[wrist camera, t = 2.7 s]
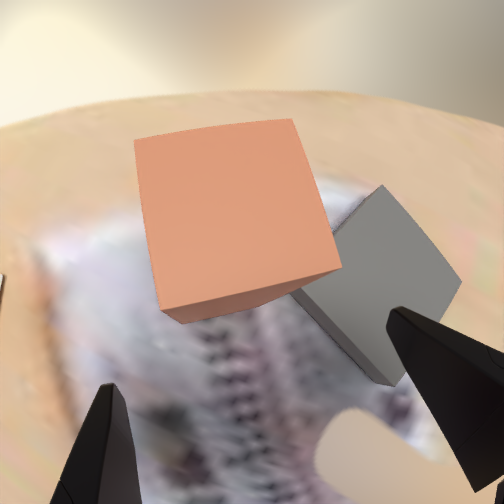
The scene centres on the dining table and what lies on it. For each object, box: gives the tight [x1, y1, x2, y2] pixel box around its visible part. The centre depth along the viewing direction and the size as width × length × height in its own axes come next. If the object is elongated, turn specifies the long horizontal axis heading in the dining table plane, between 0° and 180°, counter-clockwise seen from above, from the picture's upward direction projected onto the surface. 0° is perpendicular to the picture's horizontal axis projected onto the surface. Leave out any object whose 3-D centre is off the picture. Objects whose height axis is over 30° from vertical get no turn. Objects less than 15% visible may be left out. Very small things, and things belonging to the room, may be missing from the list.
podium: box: [290, 185, 462, 387], centre depth 21 cm, size 10×10×2 cm
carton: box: [134, 119, 342, 324], centre depth 15 cm, size 5×5×12 cm
